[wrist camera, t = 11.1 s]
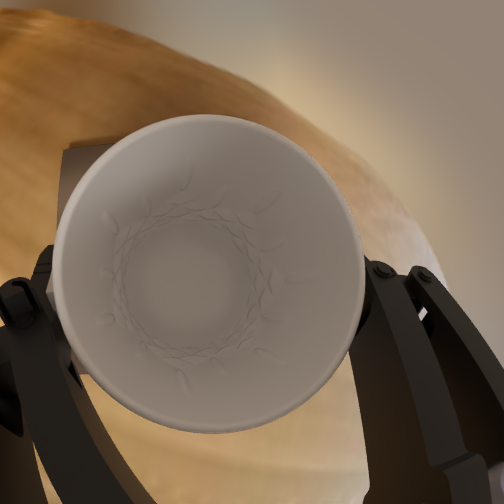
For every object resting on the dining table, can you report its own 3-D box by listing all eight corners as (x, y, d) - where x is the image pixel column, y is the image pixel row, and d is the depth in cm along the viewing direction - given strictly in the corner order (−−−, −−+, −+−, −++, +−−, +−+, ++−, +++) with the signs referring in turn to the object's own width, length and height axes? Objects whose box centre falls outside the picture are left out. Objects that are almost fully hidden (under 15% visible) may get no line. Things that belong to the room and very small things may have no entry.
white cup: (156, 195, 16) (170, 73, 6) (269, 258, 17) (390, 213, 8) (92, 314, 13) (4, 334, 4) (215, 375, 15) (299, 460, 6)
